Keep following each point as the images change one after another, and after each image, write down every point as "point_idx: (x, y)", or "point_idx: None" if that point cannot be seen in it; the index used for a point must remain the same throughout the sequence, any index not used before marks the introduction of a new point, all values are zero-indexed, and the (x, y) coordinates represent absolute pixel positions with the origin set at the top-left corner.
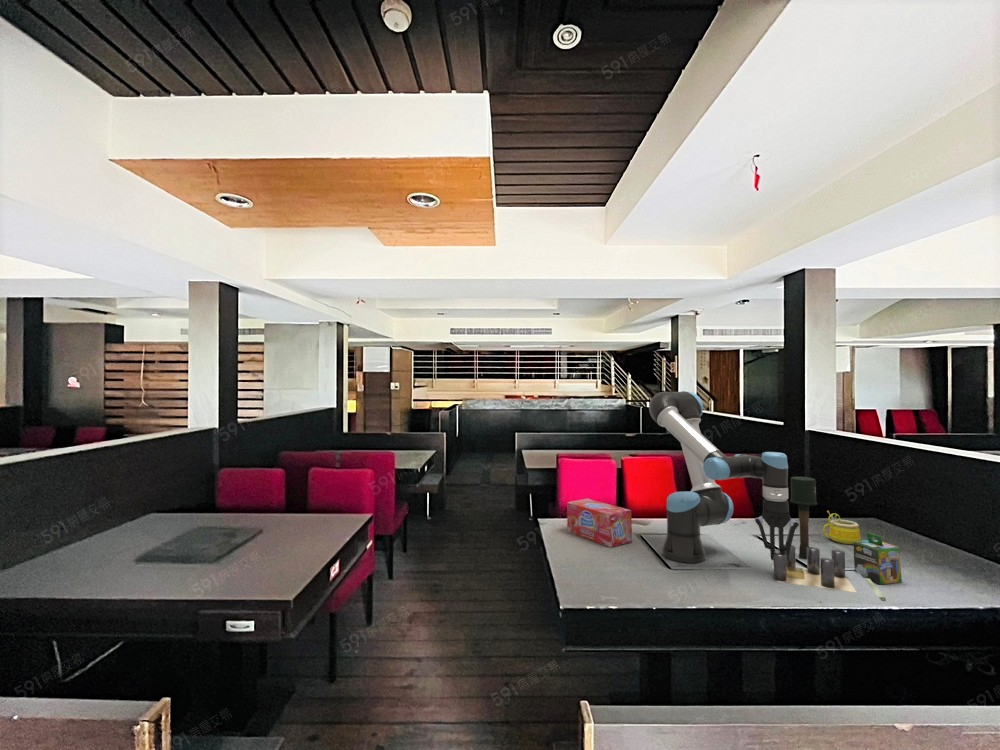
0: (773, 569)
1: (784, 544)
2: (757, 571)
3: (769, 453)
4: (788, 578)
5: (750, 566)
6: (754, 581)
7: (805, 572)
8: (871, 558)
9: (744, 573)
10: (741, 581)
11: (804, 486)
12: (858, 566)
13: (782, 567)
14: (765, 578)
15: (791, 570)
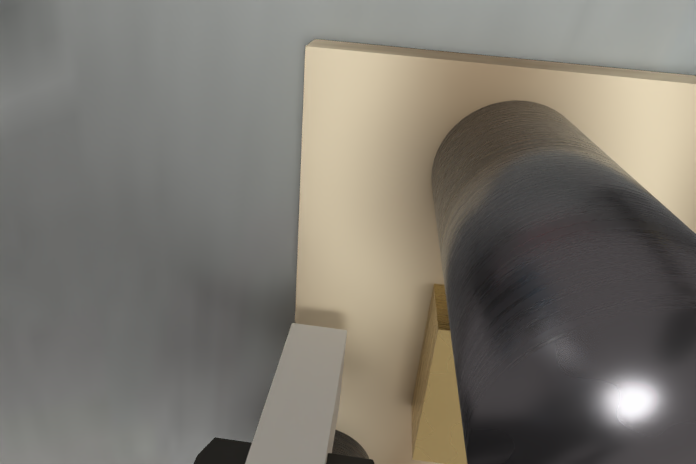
0: (299, 222)
1: (560, 348)
2: (143, 175)
3: None
4: (400, 434)
5: (52, 2)
6: (130, 422)
7: (689, 226)
8: None
9: (31, 270)
10: (42, 439)
11: None
12: None
13: None
14: (216, 346)
15: (453, 442)
